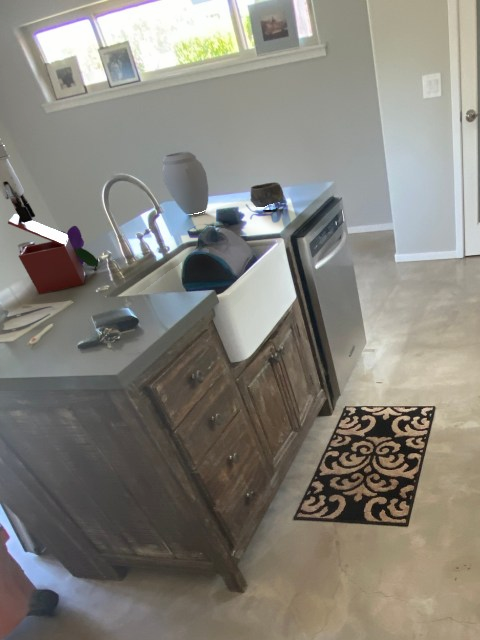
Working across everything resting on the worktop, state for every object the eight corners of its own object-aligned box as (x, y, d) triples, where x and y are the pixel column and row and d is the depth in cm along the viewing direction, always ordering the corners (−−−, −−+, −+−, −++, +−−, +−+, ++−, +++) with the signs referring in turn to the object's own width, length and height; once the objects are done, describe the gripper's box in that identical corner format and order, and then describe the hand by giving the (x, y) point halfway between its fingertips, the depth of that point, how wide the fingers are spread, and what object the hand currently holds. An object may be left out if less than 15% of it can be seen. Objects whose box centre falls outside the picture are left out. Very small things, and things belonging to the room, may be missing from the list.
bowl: (286, 210, 232) (280, 185, 225) (252, 216, 231) (245, 190, 225) (286, 204, 242) (281, 179, 236) (254, 209, 242) (247, 185, 235)
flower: (112, 275, 204) (81, 258, 204) (110, 238, 193) (78, 220, 192) (85, 288, 194) (53, 271, 194) (81, 250, 183) (47, 232, 183)
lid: (7, 223, 163) (10, 207, 161) (14, 215, 173) (17, 200, 171) (63, 246, 172) (66, 230, 170) (67, 237, 182) (70, 222, 180)
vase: (223, 207, 255) (206, 148, 238) (207, 217, 240) (188, 155, 224) (187, 211, 258) (168, 152, 242) (169, 221, 244) (148, 160, 228)
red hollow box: (39, 294, 177) (18, 256, 169) (43, 283, 187) (24, 246, 179) (83, 284, 180) (64, 246, 172) (85, 274, 190) (68, 237, 182)
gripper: (-14, 154, 163) (21, 217, 176) (-25, 160, 151) (13, 227, 163) (11, 149, 165) (44, 212, 177) (2, 154, 152) (37, 222, 164)
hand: (29, 219), depth 170 cm, fingers closed on lid, 6 cm apart
